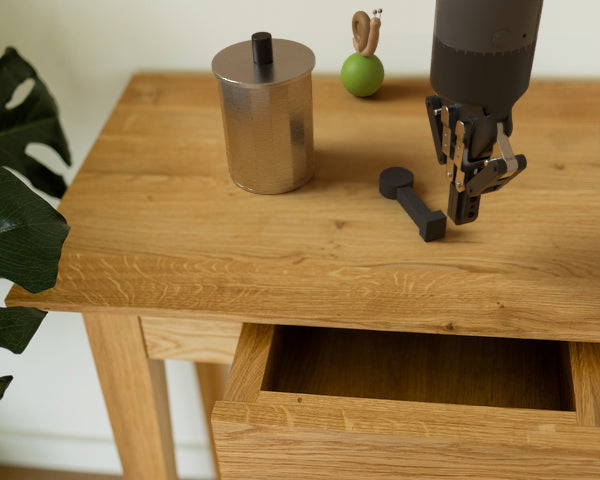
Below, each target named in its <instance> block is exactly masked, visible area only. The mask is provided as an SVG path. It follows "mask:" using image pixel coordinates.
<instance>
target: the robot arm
mask: <svg viewBox="0 0 600 480" xmlns="http://www.w3.org/2000/svg"><path fill="white" fill-rule="evenodd" d="M544 1H545V0H435V6H434V19H433V28H432V29H433V30H432V41H431V42H432V43H431V56H430V69H429V84H430V86H431V88H432V90H433V91H434V92H435V93H434V94H433V95H428V96H425V99H424V100H425V103H424V104H425V109H426V112H427V117H428V122H429V126H430V131H431V135H432V140H433V145H434V149H435V154H436V159H437V163H438V164H439V165H440V166H444V165H445V169H446V170H445V176H446V179H447V181H448V182H450V183H449V191H448V192H449V193H448V202H447V209H446V210H447V212H446V214H447V215H446V216H447V217H448V218H449V219H450V220H451V221H452V223H454V225H455V226H462V225H466V224H471V223H473V222H475V221H477V219H478V217H479V212H480V211H479V210H480V206H481V205H480V204H481V199H482V198H481V197H482V195H486V194H491V193H493V192H498V191H499V190H501V189H503V187H505V186H506V185H507V184H508V183H510V182H511V181H512V180H513V179H514V178H516V177H517V176H518V175H520V174H521V173H522V172H524V171H525V170H526V169H527V166H528V161H527V158H526V155H525V154H523V153H518V154H514V150H513V148H512V144H511V143H510V139H509V138H510V137H512V133H513V130H514V123H513V122H514V121H513V108H514V106H515V104H516V103H517V102H518V101H519V100H520V98H522V97H523V95H525V93H526V92H527V91H528V89H529V87H530V83H531V77H532V72H533V71H532V70H533V66H534V65H533V64H534V59H535V53H536V48H537V42H538V37H539V30H540V25H541V18H542V13H543V8H544Z"/></svg>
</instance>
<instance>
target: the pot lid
mask: <svg viewBox="0 0 600 480" xmlns="http://www.w3.org/2000/svg"><path fill="white" fill-rule="evenodd" d="M210 67H211V72H212V74H213V75H214V77H215V78H216V79H217V78H218V79H219V80H220V81H222V82H224V83H226V84H229V85H232V86H236V87H241V88H250V89H264V88H274V87H280V86H284V85H288V84H291V83H294V82H296V81H299V80H301V79H303V78H304V77H306V76H307V75H308V74H310V73H312V72H313V70H314V69H315V67H316V54H315V53H314V51H313V50H312V49H311V48H310V47H309V46H308V45H305V44H303V43H301V42H298V41H294V40H290V39H286V38H273V35H272V33H270V32H268V31H256V32H254V33H253V34H251V38H250V39H247V40H243V41H239V42H236V43H233V44H231V45H229V46H226V47H224V48H223V49H221V50H220V51H218V52H217V53H216V54H215V55H214V56H213V58H212V60H211V66H210Z"/></svg>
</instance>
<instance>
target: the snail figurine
mask: <svg viewBox="0 0 600 480" xmlns="http://www.w3.org/2000/svg"><path fill="white" fill-rule="evenodd" d="M382 13H383V8H381V7H379V8H378V9H373V10H372V14H373V15H374V16H373V17H372V18H370V16H369V15H368V13H367V12H366V11H363V10H358V11H356V12H355V13H354V14H353V16H352V18H351V31H352V35H353V37H352V40H351V41H352V45H353V48H354V50H355V52H353V53H352V54H349V56H348V57H347V58H346V59H345V60H344V61H343V64H342V66H341V69H340V80H341V84H342V85H343V87H344V88H345V90H346V91H347V92H348V93H350V94H351V95H353V96H355V97H360V98H361V97H362V98H363V97H368V96H369V97H370V96H371V95H374V94H375V93H376V92H377V91H379V89H380V88H381V86H382V85H383V82H384V80H385V68H384V65H383V64H384V63H383V62H382V60H381V59H380V58H379V57H378V56H377V55H376V54H375V53H376V51H377V48H378V44H379V40H380V30H381V27H382V21H381V18H380V17H377V16H376V15H377V14H379V16H382V15H381V14H382Z"/></svg>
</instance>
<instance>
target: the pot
mask: <svg viewBox="0 0 600 480" xmlns="http://www.w3.org/2000/svg"><path fill="white" fill-rule="evenodd" d="M312 77H313V76H312V72H311V73H310V74H308V75H307V76H306V77H304V78H303V79H301V80H299V81H296V82H294V83H291V84H288V85H284V86H280V87H274V88H264V89H250V88H241V87H236V86H232V85H229V84H226V83H224V82H222V81H220V80H219V79H218V78H216V79H217V87H218V95H219V103H220V111H221V112H220V113H221V120H222V128H223V129H222V130H223V137H224V143H225V151H226V160H227V168H228V173H229V177H230V179H231V181H232V183H234V185H235V186H237V187H238V188H239V189H240V190H244V191H245V192H248V193H252V194H257V195H279V194H286V193H289V192H291V191H295V190H297V189H299V188H301V187H303V186H305V185H306V184H307V183H309V181H310V180H311V179H312V177H313V176H314V173H315V163H316V161H315V136H314V135H315V134H314V133H315V131H314V107H313V105H314V103H313V78H312Z"/></svg>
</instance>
